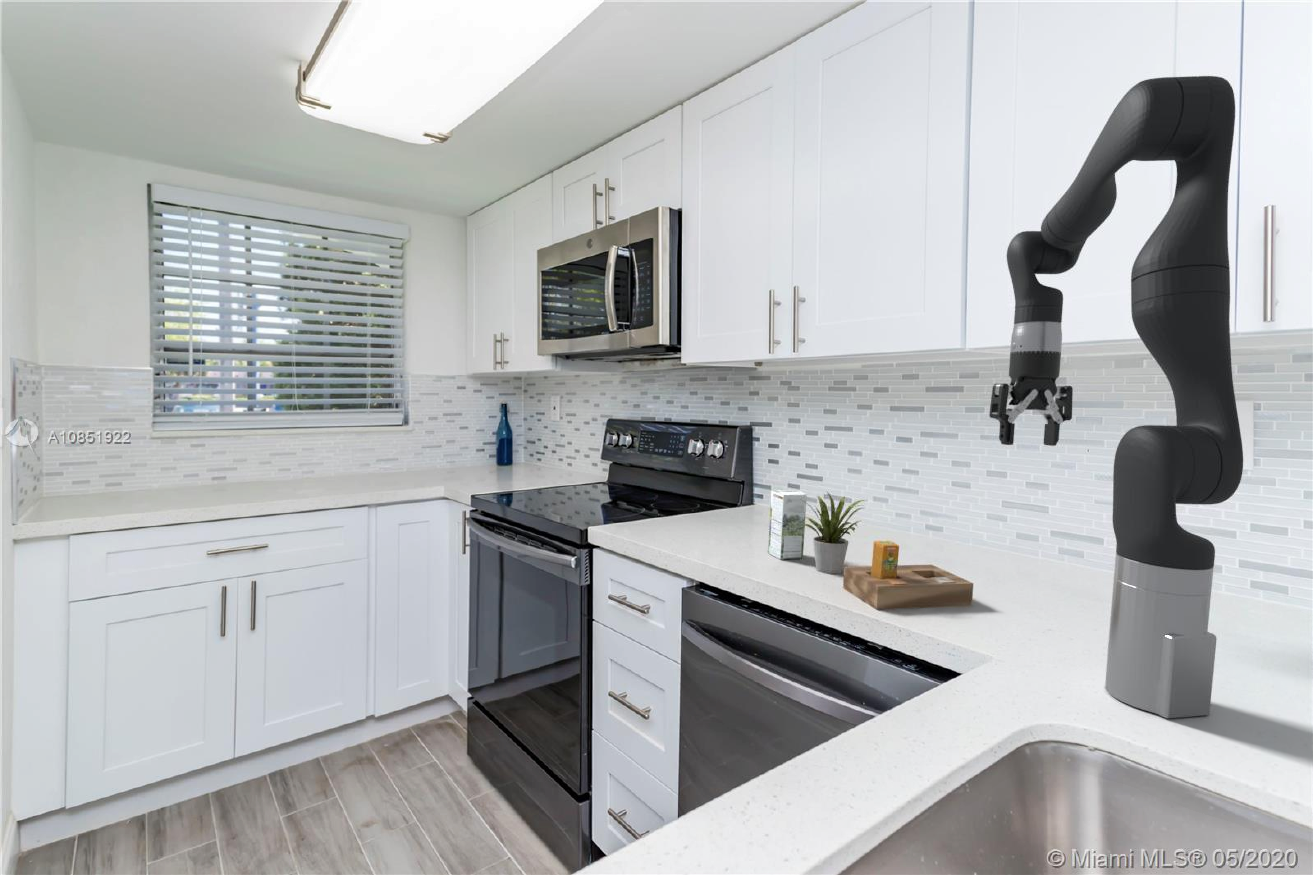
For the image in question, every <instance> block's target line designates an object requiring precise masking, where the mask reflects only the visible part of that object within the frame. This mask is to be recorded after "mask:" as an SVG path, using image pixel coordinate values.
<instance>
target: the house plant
mask: <svg viewBox="0 0 1313 875" xmlns="http://www.w3.org/2000/svg"><path fill="white" fill-rule="evenodd" d="M826 493H827V496H828V497H829V502H830V514H829V509H828V508H829V507H828V506H827V503H826V502H825V501H824V500H823V499H822V497H820V496H818V495H817V499H818V502H819V506H820V510H819V509H818V508H817V506H816V505H815V506H814V507H815V509H816V511H817V512H816V511H815V509H813V507H812V506H811V505H810V504H809V503H808V502H807V501H806V502H805V501H804V502H805V503H806V505H808V506H809V507H810V509H812V511H813V512H814V514H815V515H816V517H817V518H818V520H819V522H820V523H818V522H817V521H815V520H814V519H813V518H811V517H809V516H805V519H807V520H808V521H809V522H810V523H811V524H812V525H813V526H812V525H811V524H808V523H805V524H803V525H805V527H808V528H810V529H812V530H813V531H814V532H815V533H816V534H817V535H818V536H814V537H813V538H812V543H813V544H812V545H813V552H814V553H813V554H814V559H815V560H814V561H815V569H816V570H817V571H818V572H821V573H825V574H840V573H842V572H843V571H844V565H845V560H846V555H847V552H848V546H849V540H848V539H846V538H843V537H844V535H845V534H847V535H850V537H852V535H851V533H850V532H849V530H852V532H855V530H856V528H855V527H854V526H856V527H858V525H857V524H858V523H859V522H860V523H861V520H857V521H855V522H853V523H852V522H849V520H850V519H851V518H852V516H853V515H854V514H855V513H856V512H858V511H860V510H861V509H863V507H865V505H863V504H859V503H861V502H865V501H867V499H860V500H859V499H858V500H857V501H854V502H853V503H851V504H850V505H849V506H848V507H847V508H846V509H845V511H844V512H843V509H844V506H845V499H846V497H845V496H843V497H842V498H841V499H839V502H838V504H837V507H835V502H834V499H833V498H832V496H831V494H830V493H829V492H828V491H826ZM800 500H801V499H800ZM802 501H803V500H802ZM856 507H859V508H856ZM853 508H856V509H855V510H853V511H852V512H851V513H850V511H851V510H852V509H853ZM842 512H843V514H842ZM849 513H850V514H849ZM841 514H842V515H841ZM848 514H849V516H848V517H847V519H846V520H845V521H844V522H843V520H844V519H845V517H846V516H847V515H848ZM842 522H843V523H842ZM847 525H849V526H847ZM814 526H815V527H816V528H815V527H814ZM846 526H847V527H846ZM819 533H820V534H821V536H820V534H819Z"/></svg>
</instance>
